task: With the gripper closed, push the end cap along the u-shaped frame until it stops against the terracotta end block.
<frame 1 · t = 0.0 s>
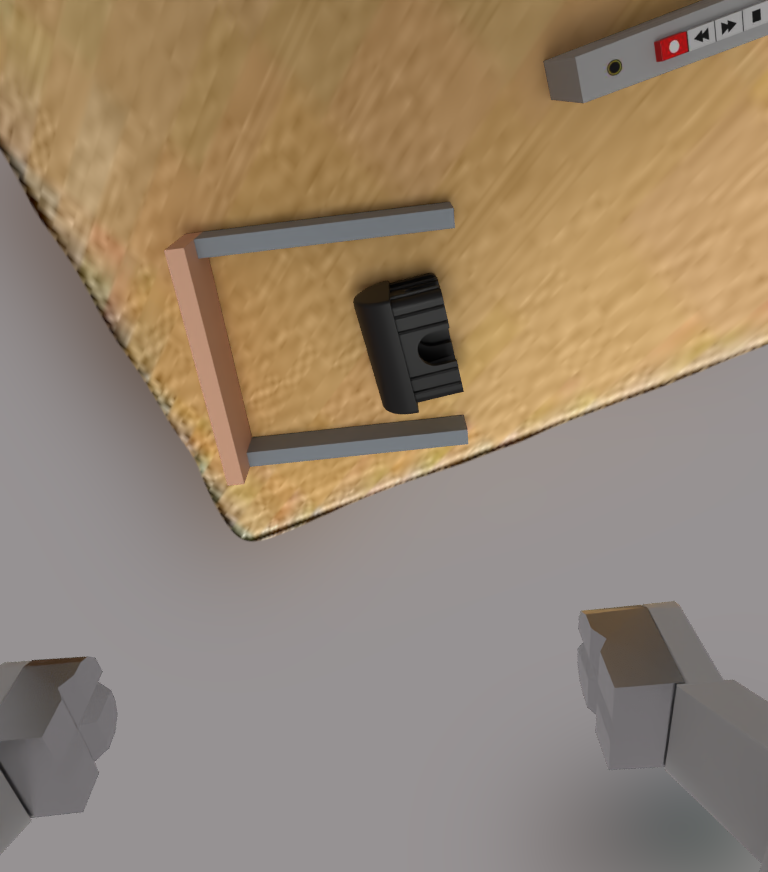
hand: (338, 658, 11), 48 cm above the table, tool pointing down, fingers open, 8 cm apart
cassette player: (650, 41, 48), on the table
u-shaped frame: (340, 338, 59), on the table
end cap: (407, 329, 59), on the table
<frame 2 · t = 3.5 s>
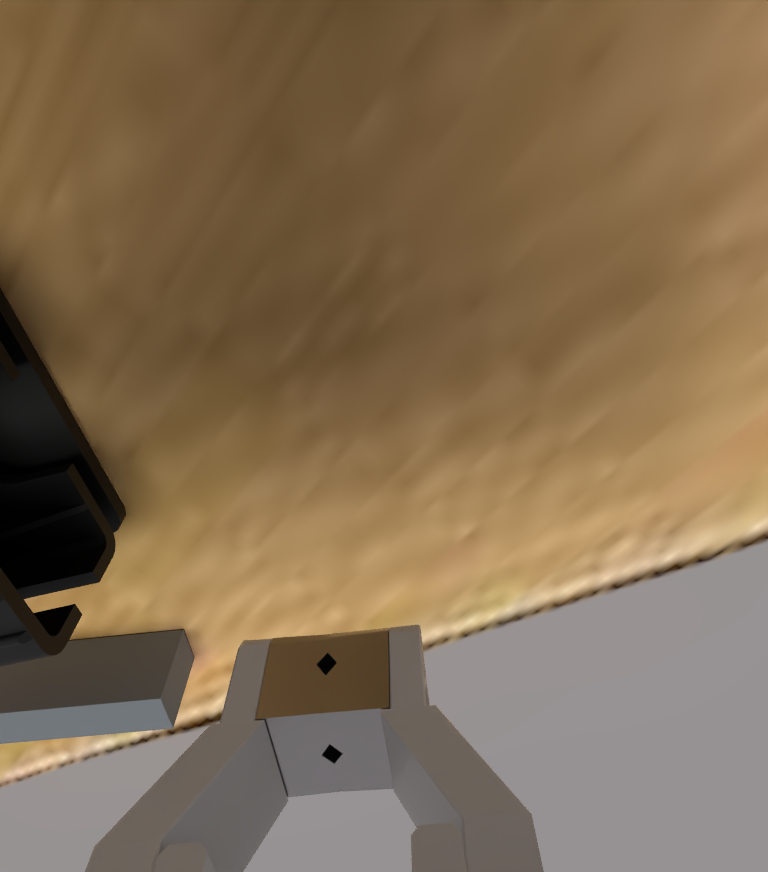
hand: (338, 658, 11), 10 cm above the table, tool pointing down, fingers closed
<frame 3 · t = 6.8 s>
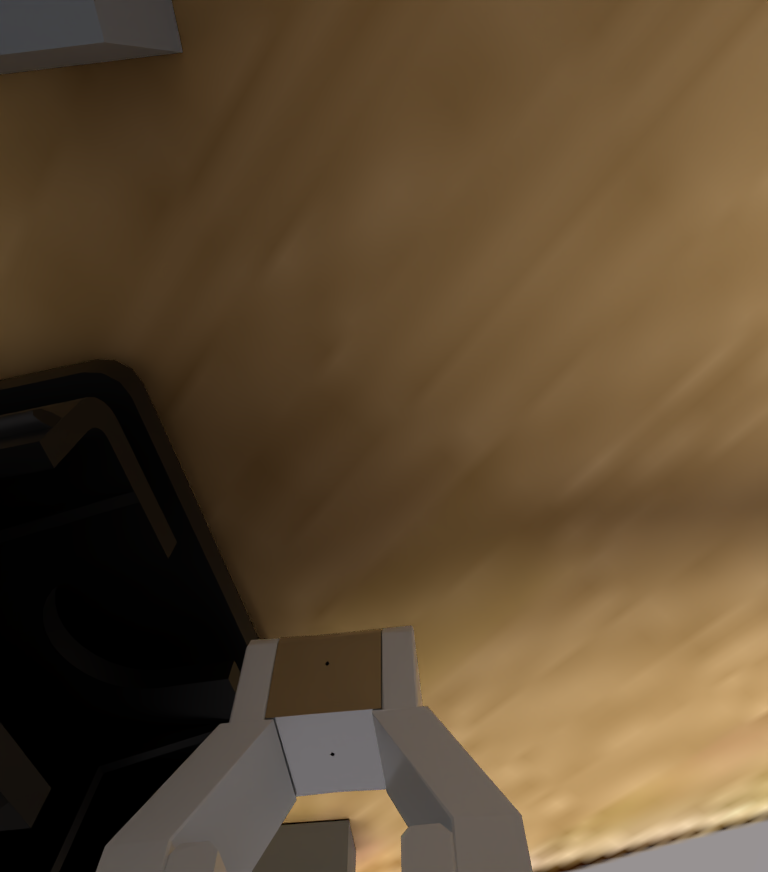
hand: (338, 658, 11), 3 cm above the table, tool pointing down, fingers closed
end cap: (69, 577, 14), on the table, touching gripper
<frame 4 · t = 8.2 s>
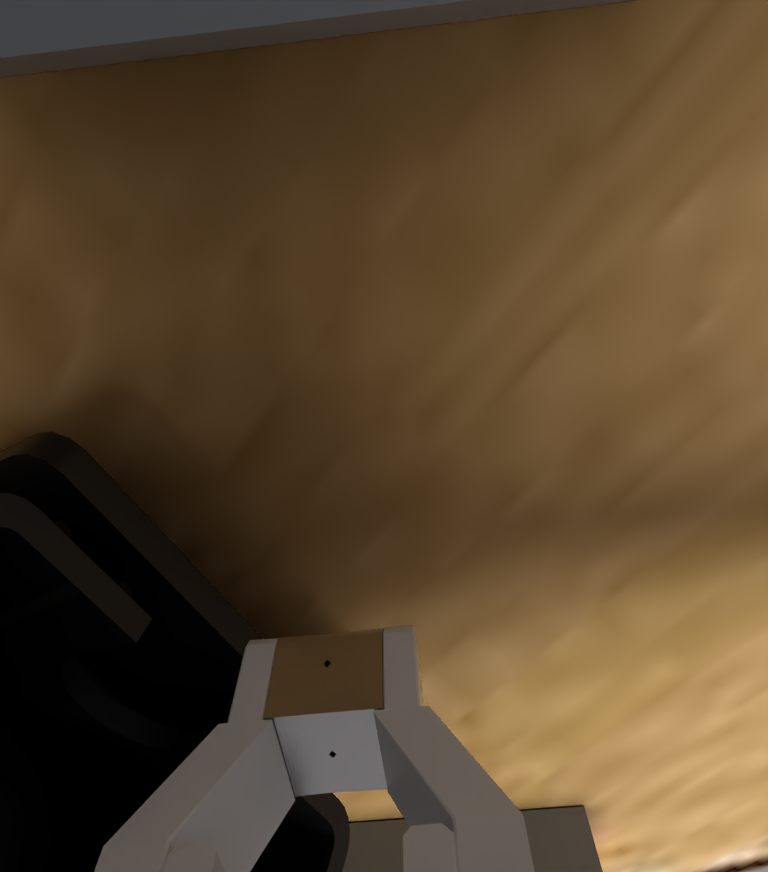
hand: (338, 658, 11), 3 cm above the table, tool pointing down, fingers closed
u-shaped frame: (90, 579, 14), on the table
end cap: (125, 630, 14), on the table, touching gripper
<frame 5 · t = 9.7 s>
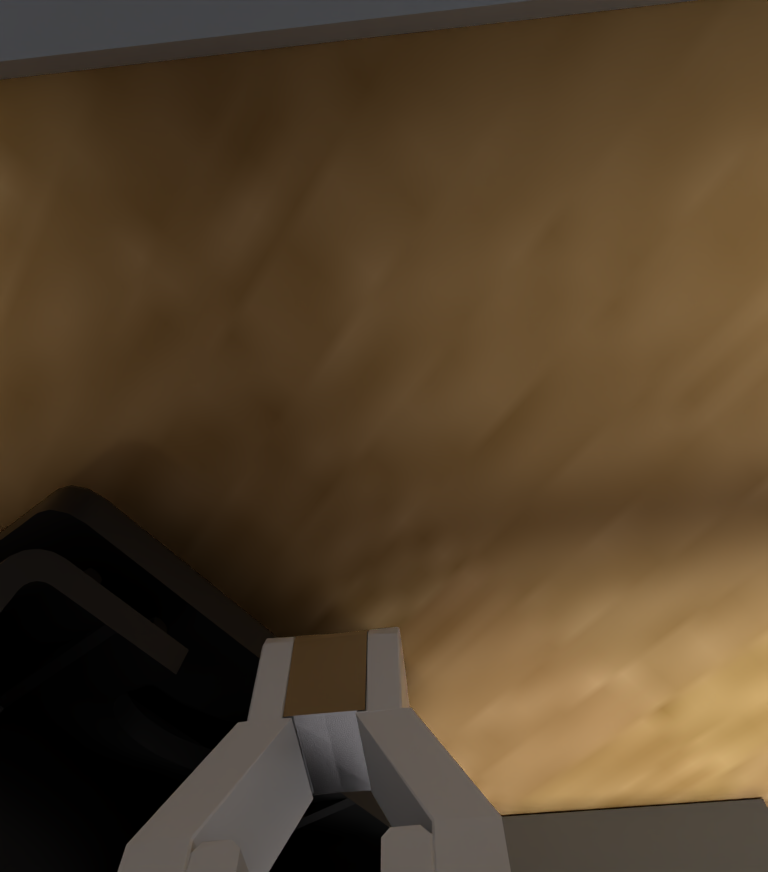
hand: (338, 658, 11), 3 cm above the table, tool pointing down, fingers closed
u-shaped frame: (316, 563, 13), on the table
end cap: (173, 664, 14), on the table, touching u-shaped frame, gripper
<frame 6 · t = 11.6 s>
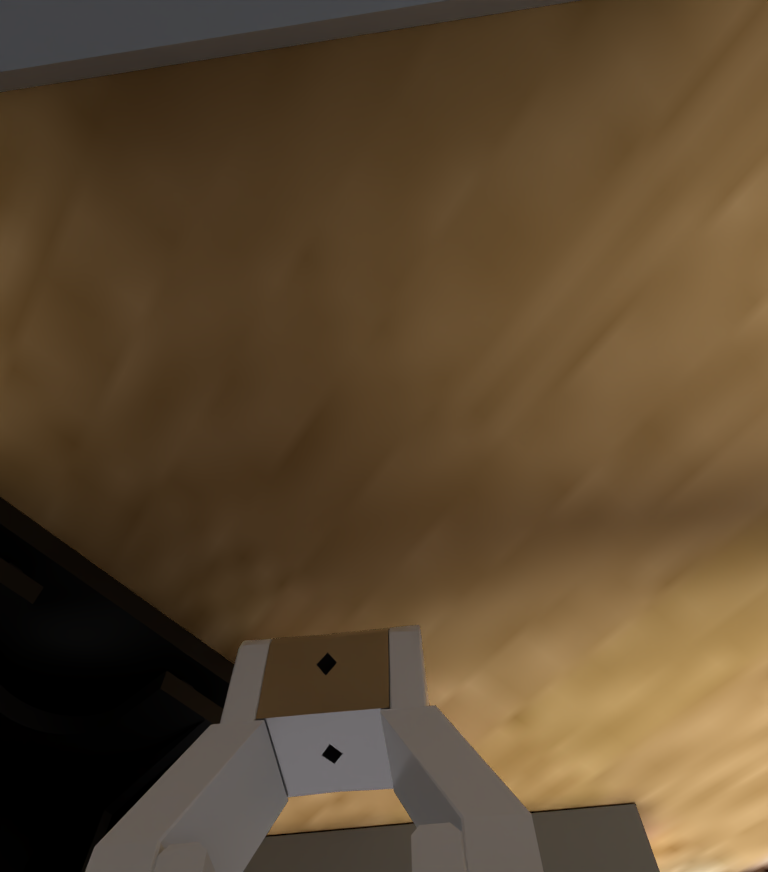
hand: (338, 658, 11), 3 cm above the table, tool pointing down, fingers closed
u-shaped frame: (141, 585, 14), on the table
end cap: (34, 659, 15), on the table
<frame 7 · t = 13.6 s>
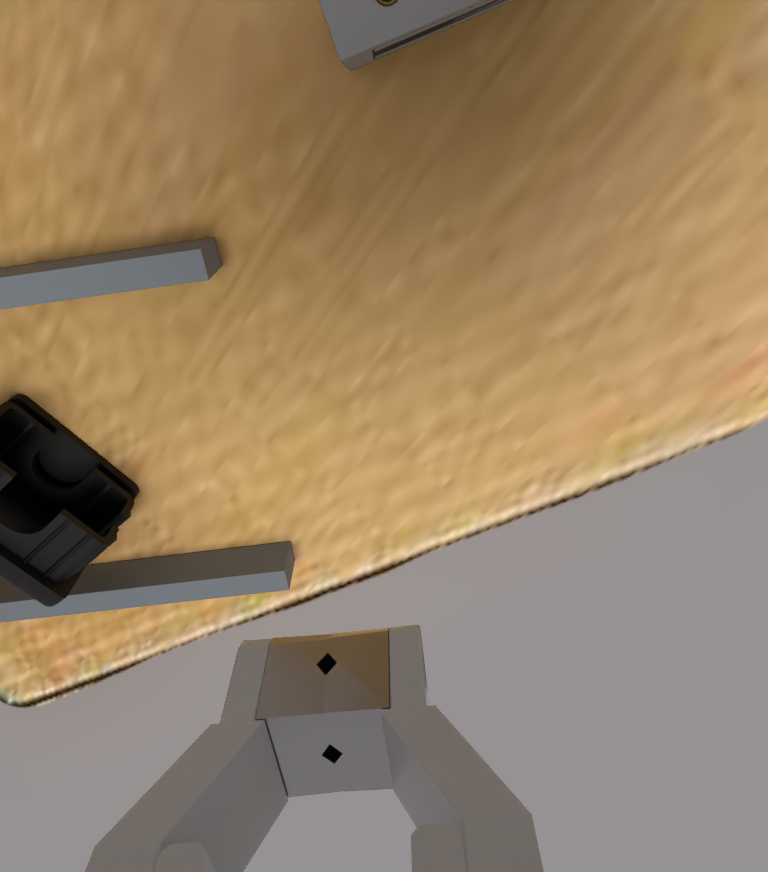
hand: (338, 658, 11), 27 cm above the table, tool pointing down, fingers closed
u-shaped frame: (88, 440, 39), on the table
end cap: (50, 473, 41), on the table
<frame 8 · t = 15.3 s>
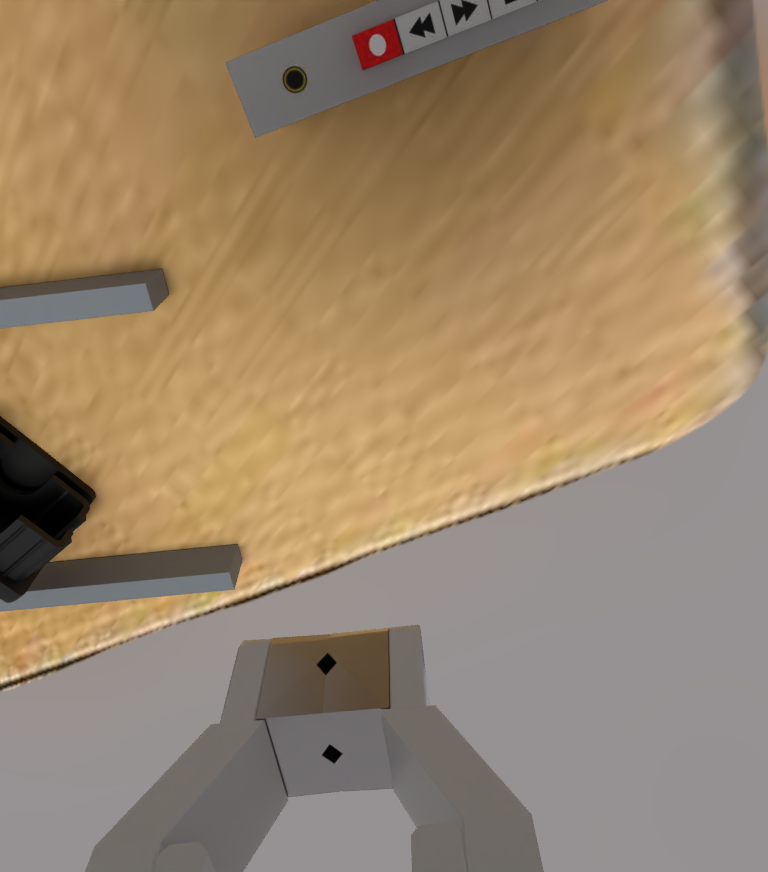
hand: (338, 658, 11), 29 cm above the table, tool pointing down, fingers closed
cassette player: (421, 36, 32), on the table
u-shaped frame: (47, 449, 42), on the table
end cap: (13, 478, 44), on the table
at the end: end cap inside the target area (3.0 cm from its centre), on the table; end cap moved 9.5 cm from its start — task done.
